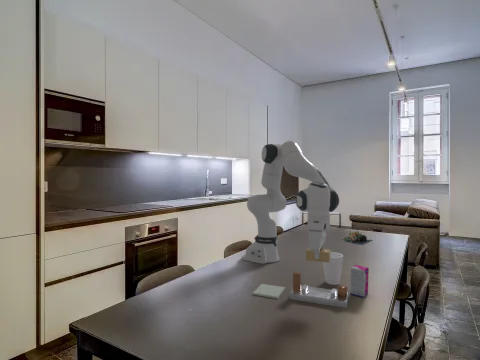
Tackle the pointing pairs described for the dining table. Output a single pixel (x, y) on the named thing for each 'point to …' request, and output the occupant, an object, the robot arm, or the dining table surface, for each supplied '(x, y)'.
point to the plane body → (318, 293)
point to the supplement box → (359, 281)
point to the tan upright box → (324, 255)
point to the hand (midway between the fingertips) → (318, 256)
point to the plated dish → (357, 238)
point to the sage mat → (269, 291)
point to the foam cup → (333, 269)
